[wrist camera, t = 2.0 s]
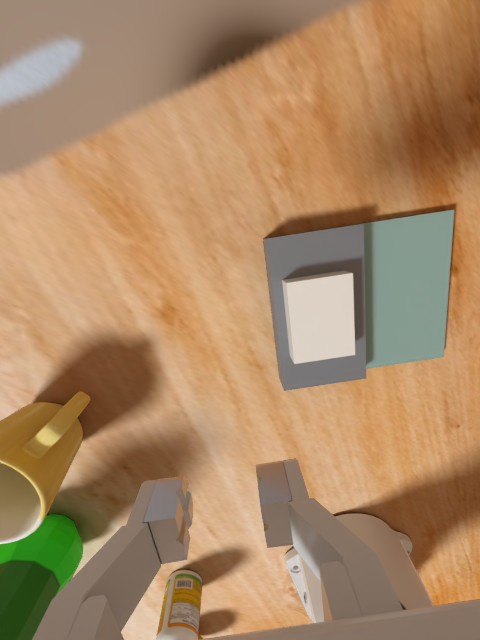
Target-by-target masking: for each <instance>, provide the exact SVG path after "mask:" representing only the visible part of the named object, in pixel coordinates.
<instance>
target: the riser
mask: <svg viewBox="0 0 480 640" xmlns="http://www.w3.org/2000/svg"><path fill="white" fill-rule="evenodd" d="M263 243H264V252H265V260H266V269H267V277H268V285H269V294H270V302H271V311H272V319H273V328H274V336H275V345H276V353H277V362H278V370H279V378H280V381H281V383H282V386H283V389H284V391H285V390H292V389H299V388H305V387H312V386H319V385H325V384H332V383H338V382H345V381H352V380H358V379H365V378H366V330H365V268H364V224H358V225H350V226H343V227H337V228H330V229H324V230H317V231H311V232H304V233H298V234H291V235H285V236H278V237H272V238H265V239H263ZM338 271H348V272H351V273H353V291H354V327H355V355H351V356H345V357H338V358H331V359H325V360H318V361H312V362H305V363H298V364H294V363H293V361H292V359H291V357H290V352H289V342H288V333H287V323H286V313H285V304H284V294H283V284H282V280H285V279H292V278H298V277H305V276H311V275H318V274H324V273H331V272H338Z"/></svg>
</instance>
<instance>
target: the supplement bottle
mask: <svg viewBox="0 0 480 640" xmlns="http://www.w3.org/2000/svg"><path fill="white" fill-rule="evenodd" d="M201 594H202V579H201V577H200V576H199V575H198V574H197V573H196V572H194V571H190V570H179V571H176V572H174V573H173V574H171V575H170V576H169V578H168V580H167V583H166V589H165V594H164V600H163V605H162V611H161V616H160V622H159V627H158V633H157V638H156V640H198V633H199V619H200V607H201Z"/></svg>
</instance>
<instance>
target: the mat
mask: <svg viewBox="0 0 480 640" xmlns="http://www.w3.org/2000/svg"><path fill="white" fill-rule="evenodd" d="M453 223H454V210H447V211H441V212H434V213H428V214H421V215H415V216H408V217H402V218H395V219H389V220H382V221H376V222H369V223H363V224H364V268H365V330H366V369H367V368H374V367H380V366H387V365H394V364H400V363H407V362H413V361H420V360H427V359H433V358H440V357H444V346H445V333H446V319H447V305H448V292H449V278H450V264H451V250H452V237H453ZM356 225H358V224H356Z"/></svg>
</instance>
